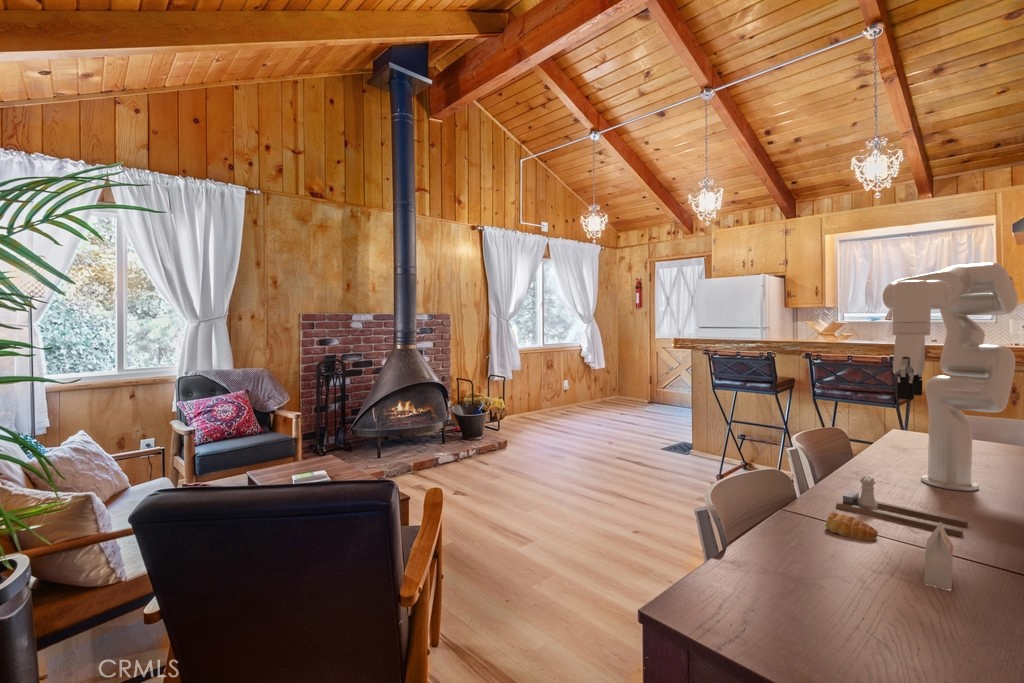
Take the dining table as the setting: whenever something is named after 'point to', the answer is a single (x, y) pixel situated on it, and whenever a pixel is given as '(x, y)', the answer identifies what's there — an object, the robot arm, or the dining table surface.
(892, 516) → the guide track
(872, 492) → the rook chess piece
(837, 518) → the pastry
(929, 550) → the white gable top carton
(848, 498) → the end stop
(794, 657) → the dining table surface
